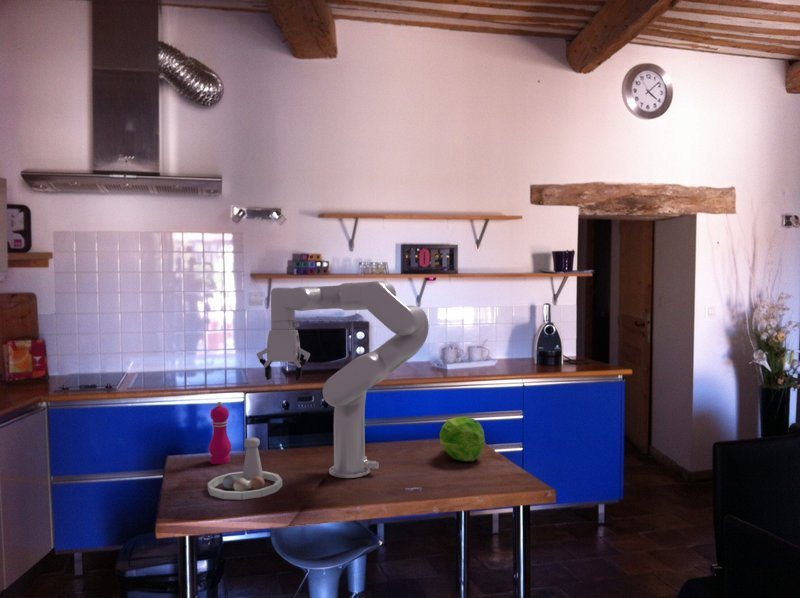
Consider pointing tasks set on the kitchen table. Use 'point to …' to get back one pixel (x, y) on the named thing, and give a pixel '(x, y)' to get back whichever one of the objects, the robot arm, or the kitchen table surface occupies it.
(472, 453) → the lettuce
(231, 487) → the dusty blue bead
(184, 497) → the kitchen table surface
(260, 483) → the bead terracotta
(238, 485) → the bead cream
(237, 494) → the tray
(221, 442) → the pepper mill
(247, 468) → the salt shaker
